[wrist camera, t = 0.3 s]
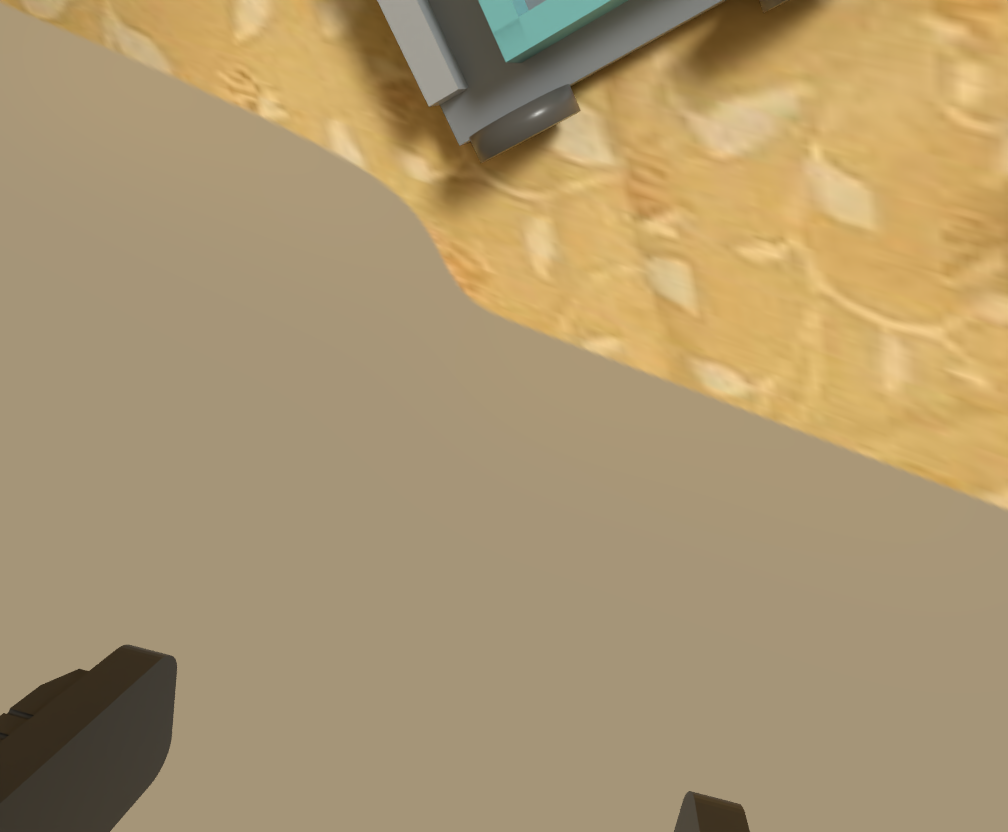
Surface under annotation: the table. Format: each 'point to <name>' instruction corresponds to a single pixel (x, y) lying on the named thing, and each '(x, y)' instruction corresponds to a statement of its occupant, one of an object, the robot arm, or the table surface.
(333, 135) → the table surface
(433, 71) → the chassis
